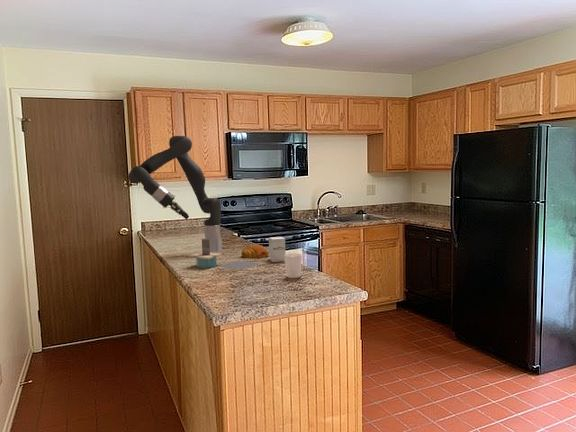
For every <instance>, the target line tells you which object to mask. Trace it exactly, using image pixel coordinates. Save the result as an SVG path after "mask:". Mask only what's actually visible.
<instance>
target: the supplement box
mask: <svg viewBox="0 0 576 432" xmlns="http://www.w3.org/2000/svg"><path fill="white" fill-rule="evenodd" d="M268 249H269V250H268V253H269V255H268V257H269V261H270V262H271V263H276V262H277V263H278V262H285V256H284V255H285V254H286V238H285V237H283V236H276V237H275V236H274V237H273V236H272V237H268Z"/></svg>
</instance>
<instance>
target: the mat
mask: <svg viewBox="0 0 576 432" xmlns="http://www.w3.org/2000/svg"><path fill="white" fill-rule="evenodd" d="M260 264H261V262H252V261H244V260H235V261H231V262H228V263H224V264H221V265H218V266H217V267H219V268H227V269H236V270H237V269H238V270H245V269H248V268H251V267H254V266H256V265H260Z"/></svg>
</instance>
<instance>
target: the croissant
mask: <svg viewBox="0 0 576 432" xmlns="http://www.w3.org/2000/svg"><path fill="white" fill-rule="evenodd" d="M240 253H241V257H242V258H244V259H261V258H263V259H264V258H267V257H269V250H267V248H266V247H265V246H264V245H262V244H250V245H247V246H245V247H244V248H242V250H241V252H240Z"/></svg>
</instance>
